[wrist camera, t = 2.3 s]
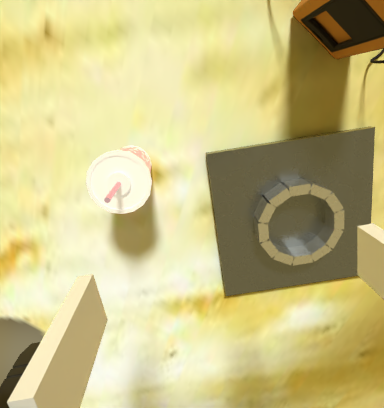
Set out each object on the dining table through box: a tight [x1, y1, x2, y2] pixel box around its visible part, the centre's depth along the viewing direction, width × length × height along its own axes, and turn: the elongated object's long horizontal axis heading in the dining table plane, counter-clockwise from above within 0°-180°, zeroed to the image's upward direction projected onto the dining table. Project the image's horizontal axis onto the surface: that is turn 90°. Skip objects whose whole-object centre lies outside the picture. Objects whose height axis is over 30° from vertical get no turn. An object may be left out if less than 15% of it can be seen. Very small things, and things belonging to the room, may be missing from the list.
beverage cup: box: [86, 145, 152, 214], centre depth 31 cm, size 6×6×14 cm
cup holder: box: [206, 127, 375, 296], centre depth 39 cm, size 20×20×4 cm
